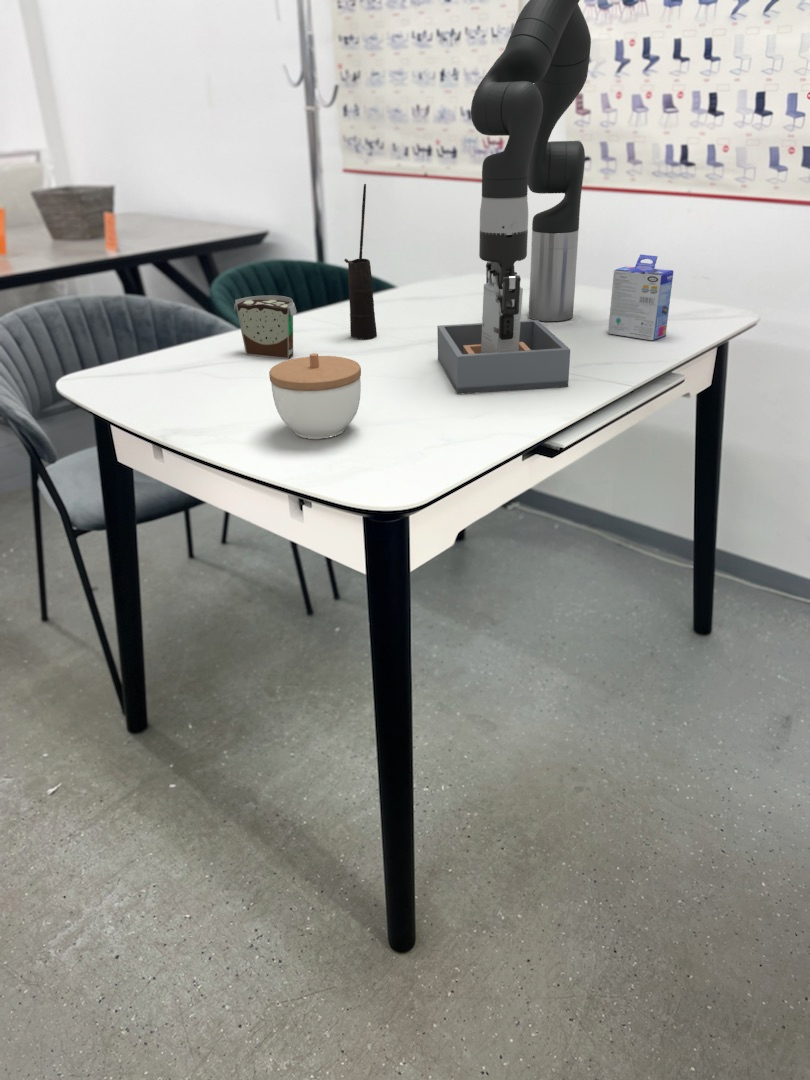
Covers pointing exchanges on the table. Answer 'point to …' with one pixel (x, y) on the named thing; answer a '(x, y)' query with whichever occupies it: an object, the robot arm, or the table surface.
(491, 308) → the skincare box
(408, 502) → the table surface
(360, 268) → the butter churn
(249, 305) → the food container
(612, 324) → the ink cartridge box
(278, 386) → the lidded bowl
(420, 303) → the table surface
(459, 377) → the walled box
